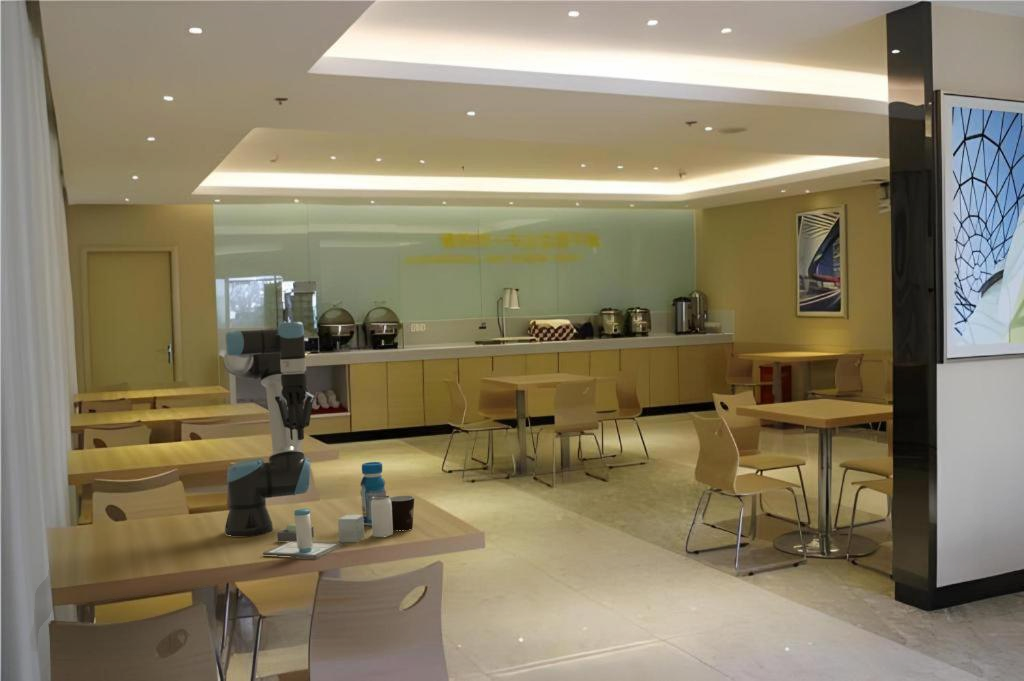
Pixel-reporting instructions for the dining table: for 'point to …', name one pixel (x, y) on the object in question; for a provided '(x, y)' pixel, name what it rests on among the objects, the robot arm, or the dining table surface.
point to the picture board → (292, 551)
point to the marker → (303, 530)
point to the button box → (289, 535)
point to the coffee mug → (402, 512)
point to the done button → (291, 528)
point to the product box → (351, 528)
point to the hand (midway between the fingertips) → (298, 450)
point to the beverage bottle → (371, 487)
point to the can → (381, 516)
